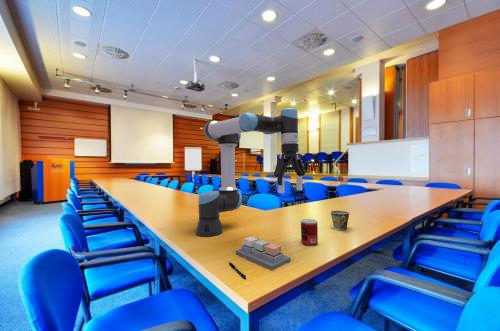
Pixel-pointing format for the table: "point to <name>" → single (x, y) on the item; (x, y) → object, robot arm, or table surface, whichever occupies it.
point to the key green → (260, 245)
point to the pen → (237, 271)
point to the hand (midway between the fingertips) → (290, 191)
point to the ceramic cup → (340, 220)
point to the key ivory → (250, 241)
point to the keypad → (263, 257)
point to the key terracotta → (273, 249)
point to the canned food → (309, 232)
